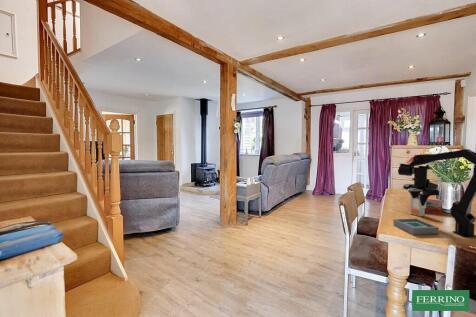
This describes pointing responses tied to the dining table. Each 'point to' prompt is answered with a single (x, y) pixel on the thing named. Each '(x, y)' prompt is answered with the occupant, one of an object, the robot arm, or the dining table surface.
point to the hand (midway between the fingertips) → (419, 204)
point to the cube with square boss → (418, 203)
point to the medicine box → (433, 206)
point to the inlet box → (416, 226)
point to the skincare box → (416, 209)
